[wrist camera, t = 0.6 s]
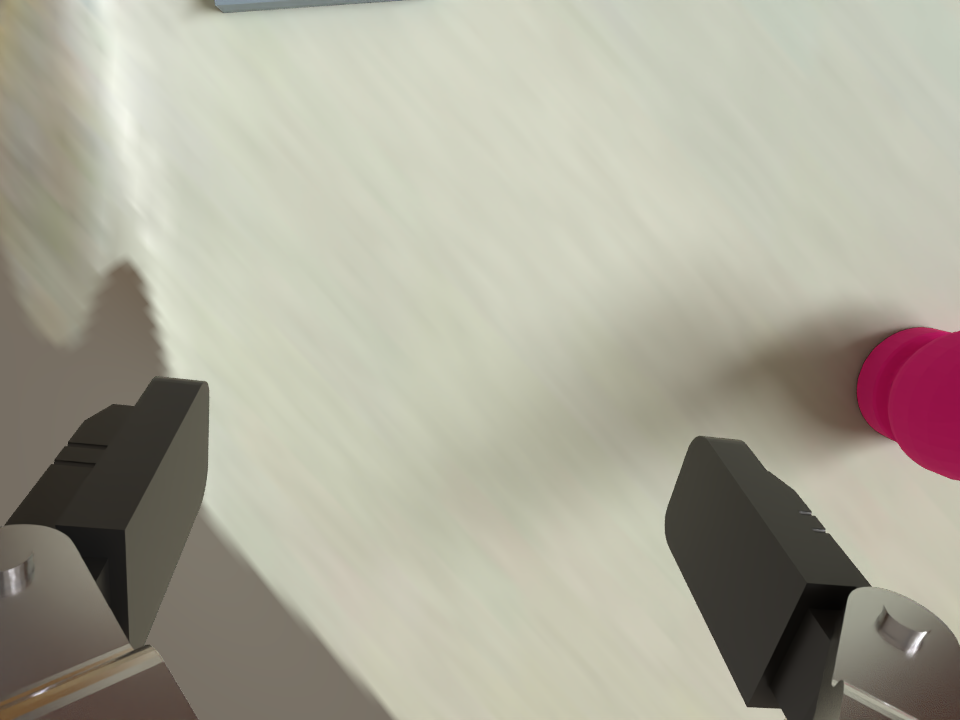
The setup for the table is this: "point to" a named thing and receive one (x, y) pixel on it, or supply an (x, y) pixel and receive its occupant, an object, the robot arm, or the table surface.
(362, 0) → the building board
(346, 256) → the table surface
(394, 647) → the table surface
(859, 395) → the pepper mill
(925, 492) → the table surface
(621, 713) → the table surface
